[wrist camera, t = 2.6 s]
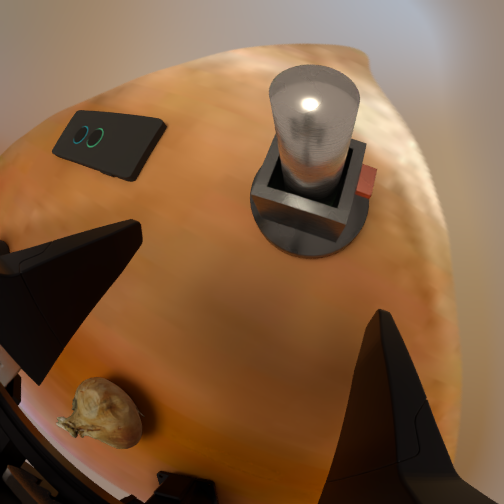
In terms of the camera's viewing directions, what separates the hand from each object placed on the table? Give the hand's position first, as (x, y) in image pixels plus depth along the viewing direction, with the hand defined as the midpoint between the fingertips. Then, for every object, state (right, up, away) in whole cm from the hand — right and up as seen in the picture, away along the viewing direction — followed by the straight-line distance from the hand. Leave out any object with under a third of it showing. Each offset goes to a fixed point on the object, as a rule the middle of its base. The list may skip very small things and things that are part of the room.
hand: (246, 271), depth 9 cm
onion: (-13, -16, +14) cm, 25 cm away
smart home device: (-20, +15, +21) cm, 33 cm away
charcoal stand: (+5, +5, +14) cm, 16 cm away
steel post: (+5, +5, +13) cm, 15 cm away
